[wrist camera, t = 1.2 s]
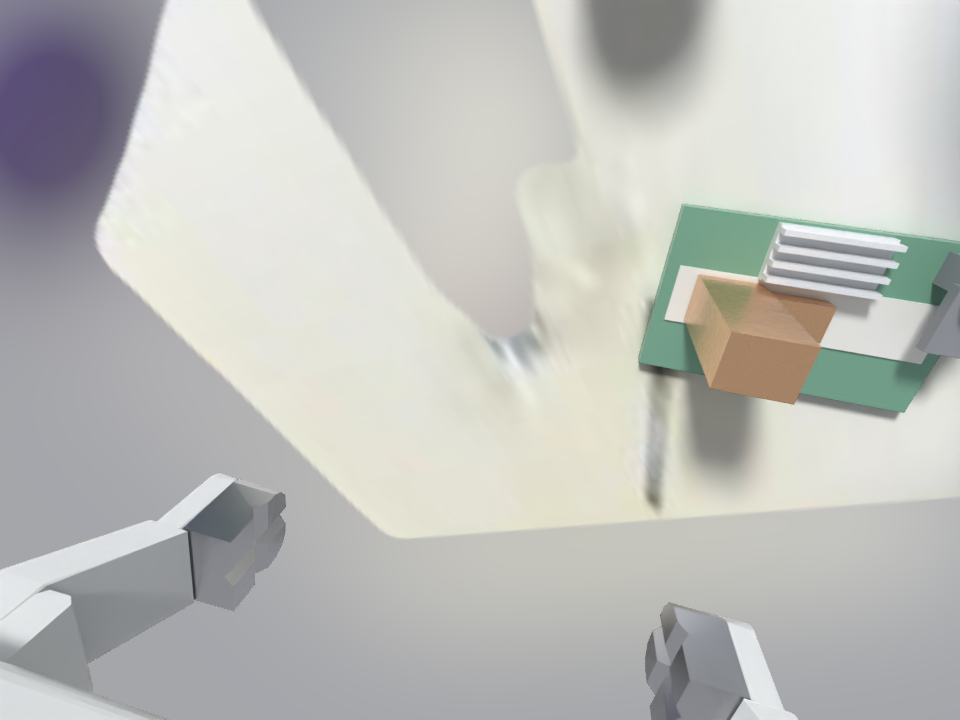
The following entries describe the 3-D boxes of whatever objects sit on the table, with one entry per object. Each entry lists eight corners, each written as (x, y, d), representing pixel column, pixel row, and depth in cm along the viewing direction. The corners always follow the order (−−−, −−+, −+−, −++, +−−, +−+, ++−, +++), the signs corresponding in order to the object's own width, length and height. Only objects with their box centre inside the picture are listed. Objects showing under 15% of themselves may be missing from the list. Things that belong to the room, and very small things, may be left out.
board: (638, 356, 45) (642, 390, 40) (682, 203, 39) (694, 218, 33) (896, 405, 42) (940, 449, 36) (993, 246, 35) (1065, 270, 30)
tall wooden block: (683, 319, 41) (709, 388, 31) (698, 274, 39) (731, 331, 29) (809, 341, 40) (882, 421, 29) (831, 295, 38) (916, 364, 27)
